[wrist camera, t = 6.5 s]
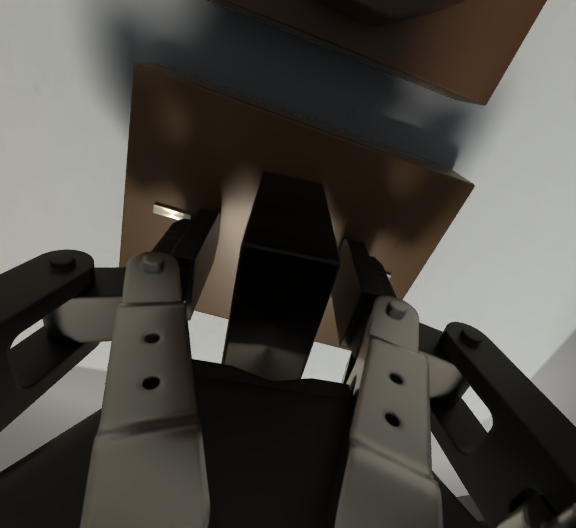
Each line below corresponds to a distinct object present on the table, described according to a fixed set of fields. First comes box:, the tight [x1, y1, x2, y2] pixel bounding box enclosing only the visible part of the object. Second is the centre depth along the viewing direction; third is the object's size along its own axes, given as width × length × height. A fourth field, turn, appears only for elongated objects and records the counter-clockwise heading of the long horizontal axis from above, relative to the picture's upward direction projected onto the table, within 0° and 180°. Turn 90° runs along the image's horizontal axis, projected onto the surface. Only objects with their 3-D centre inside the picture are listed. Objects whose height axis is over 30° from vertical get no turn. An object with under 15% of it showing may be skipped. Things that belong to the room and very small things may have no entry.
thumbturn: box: [221, 172, 341, 381], centre depth 11 cm, size 6×2×6 cm, turn 168°
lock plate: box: [119, 63, 475, 351], centre depth 14 cm, size 12×9×2 cm
